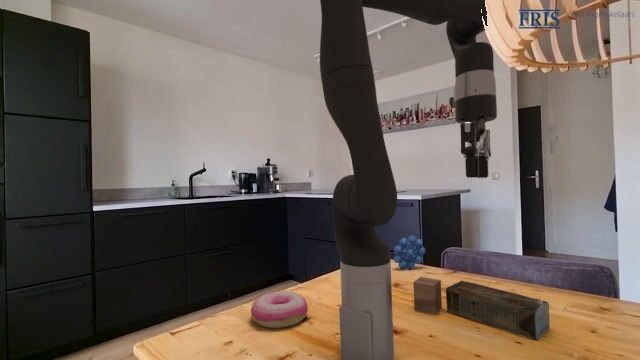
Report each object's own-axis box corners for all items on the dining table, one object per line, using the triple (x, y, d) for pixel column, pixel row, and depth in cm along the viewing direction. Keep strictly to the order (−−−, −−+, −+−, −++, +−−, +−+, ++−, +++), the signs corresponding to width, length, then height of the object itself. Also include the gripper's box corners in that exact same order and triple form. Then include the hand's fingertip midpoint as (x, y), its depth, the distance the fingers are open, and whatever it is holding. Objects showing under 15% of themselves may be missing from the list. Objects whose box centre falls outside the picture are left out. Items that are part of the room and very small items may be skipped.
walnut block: (435, 315, 73) (434, 285, 74) (414, 310, 77) (413, 281, 77) (441, 308, 77) (440, 279, 77) (421, 304, 80) (420, 276, 81)
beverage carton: (537, 343, 60) (535, 308, 60) (444, 312, 75) (443, 285, 75) (551, 330, 65) (549, 298, 65) (461, 304, 80) (460, 278, 80)
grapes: (421, 265, 117) (420, 233, 117) (428, 270, 110) (427, 236, 110) (390, 266, 116) (389, 234, 116) (396, 271, 110) (394, 237, 110)
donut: (266, 338, 65) (265, 314, 65) (242, 317, 76) (241, 297, 76) (319, 320, 73) (318, 298, 73) (290, 303, 84) (289, 285, 84)
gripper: (488, 85, 56) (491, 176, 56) (502, 101, 67) (504, 177, 67) (445, 94, 60) (447, 178, 60) (464, 107, 72) (467, 178, 71)
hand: (477, 177), depth 63 cm, fingers open, 8 cm apart
